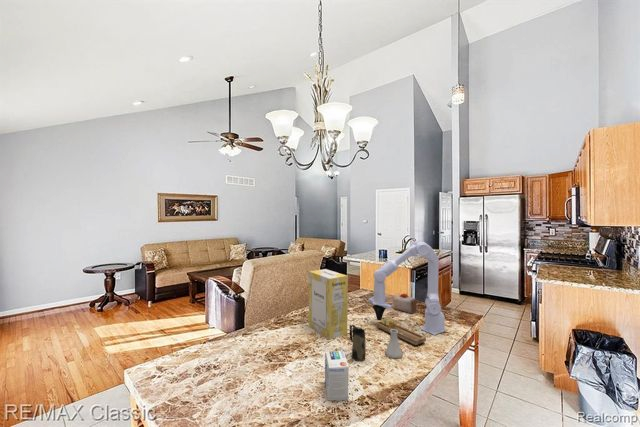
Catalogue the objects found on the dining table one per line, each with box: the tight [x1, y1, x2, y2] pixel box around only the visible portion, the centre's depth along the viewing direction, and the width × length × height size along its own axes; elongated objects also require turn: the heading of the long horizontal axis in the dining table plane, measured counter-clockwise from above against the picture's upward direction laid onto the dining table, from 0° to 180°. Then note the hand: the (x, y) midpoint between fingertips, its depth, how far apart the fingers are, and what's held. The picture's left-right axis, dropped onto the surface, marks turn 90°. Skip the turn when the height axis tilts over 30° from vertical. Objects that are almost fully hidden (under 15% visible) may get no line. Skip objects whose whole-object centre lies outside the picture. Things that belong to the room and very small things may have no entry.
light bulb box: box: [324, 350, 350, 401], centre depth 97 cm, size 11×7×11 cm, turn 5°
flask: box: [384, 329, 404, 359], centre depth 120 cm, size 7×7×10 cm
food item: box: [392, 293, 418, 315], centre depth 173 cm, size 14×8×10 cm, turn 44°
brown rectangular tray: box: [375, 321, 427, 346], centre depth 138 cm, size 8×24×3 cm, turn 33°
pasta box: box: [308, 268, 349, 340], centre depth 145 cm, size 18×10×28 cm, turn 34°
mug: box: [348, 324, 367, 362], centre depth 119 cm, size 8×6×12 cm
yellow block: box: [380, 316, 396, 328], centre depth 145 cm, size 4×5×4 cm
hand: (379, 319), depth 150 cm, fingers closed
